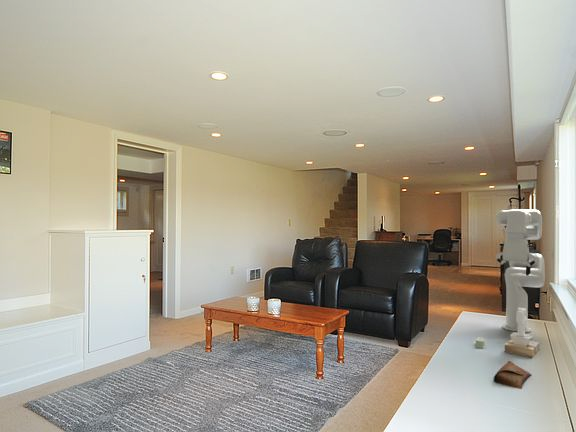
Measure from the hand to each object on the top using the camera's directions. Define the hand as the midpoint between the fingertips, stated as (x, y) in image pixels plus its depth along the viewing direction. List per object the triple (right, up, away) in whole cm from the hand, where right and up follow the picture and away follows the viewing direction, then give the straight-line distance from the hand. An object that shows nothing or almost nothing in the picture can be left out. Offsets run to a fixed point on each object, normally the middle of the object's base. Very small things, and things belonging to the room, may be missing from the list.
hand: (515, 274), depth 184 cm
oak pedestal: (-7, -30, -17) cm, 35 cm away
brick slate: (0, -30, -12) cm, 33 cm away
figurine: (-7, -27, -17) cm, 33 cm away
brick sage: (-21, -30, -11) cm, 38 cm away
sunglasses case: (-28, -29, -47) cm, 62 cm away
